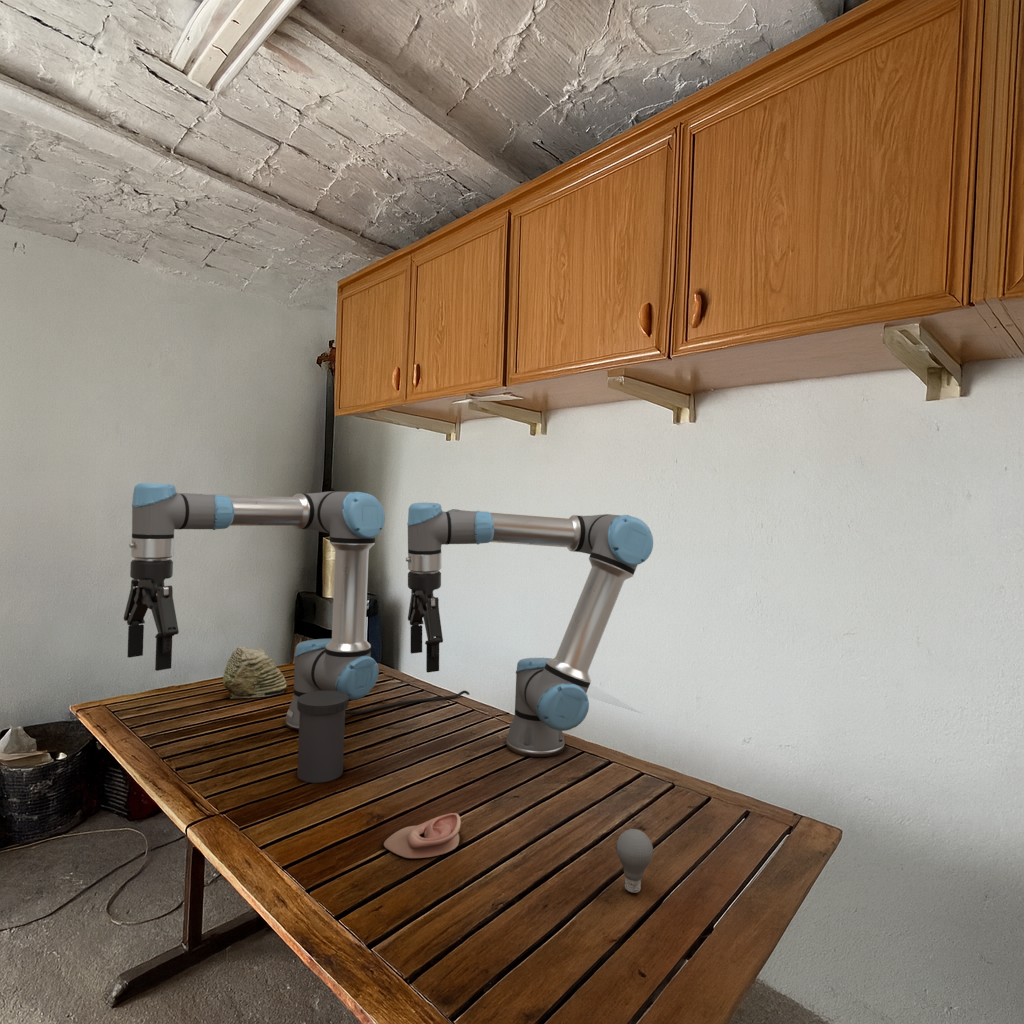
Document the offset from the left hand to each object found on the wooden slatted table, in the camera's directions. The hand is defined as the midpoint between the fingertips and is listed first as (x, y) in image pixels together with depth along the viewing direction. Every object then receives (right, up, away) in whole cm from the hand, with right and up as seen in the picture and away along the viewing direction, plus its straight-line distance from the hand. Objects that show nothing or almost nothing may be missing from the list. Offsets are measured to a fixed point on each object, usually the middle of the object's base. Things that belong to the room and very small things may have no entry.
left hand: (148, 662), depth 129 cm
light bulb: (+94, -33, -24) cm, 103 cm away
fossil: (-6, -27, +69) cm, 74 cm away
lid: (+31, -12, +15) cm, 37 cm away
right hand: (+54, -4, +17) cm, 57 cm away
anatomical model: (+58, -31, -12) cm, 66 cm away
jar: (+30, -29, +16) cm, 45 cm away
